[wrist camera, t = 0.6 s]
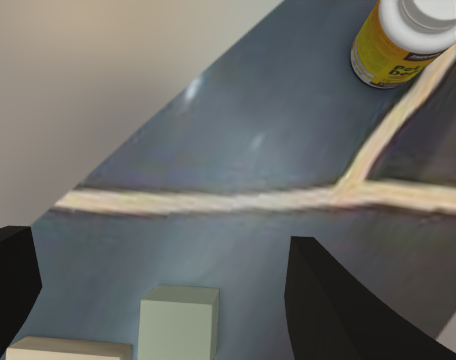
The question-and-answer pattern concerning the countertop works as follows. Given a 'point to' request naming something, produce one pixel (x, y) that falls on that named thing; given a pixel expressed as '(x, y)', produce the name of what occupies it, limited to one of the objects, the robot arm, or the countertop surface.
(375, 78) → the supplement bottle
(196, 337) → the green cube
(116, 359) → the maple block
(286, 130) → the countertop surface
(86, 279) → the countertop surface
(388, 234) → the countertop surface
